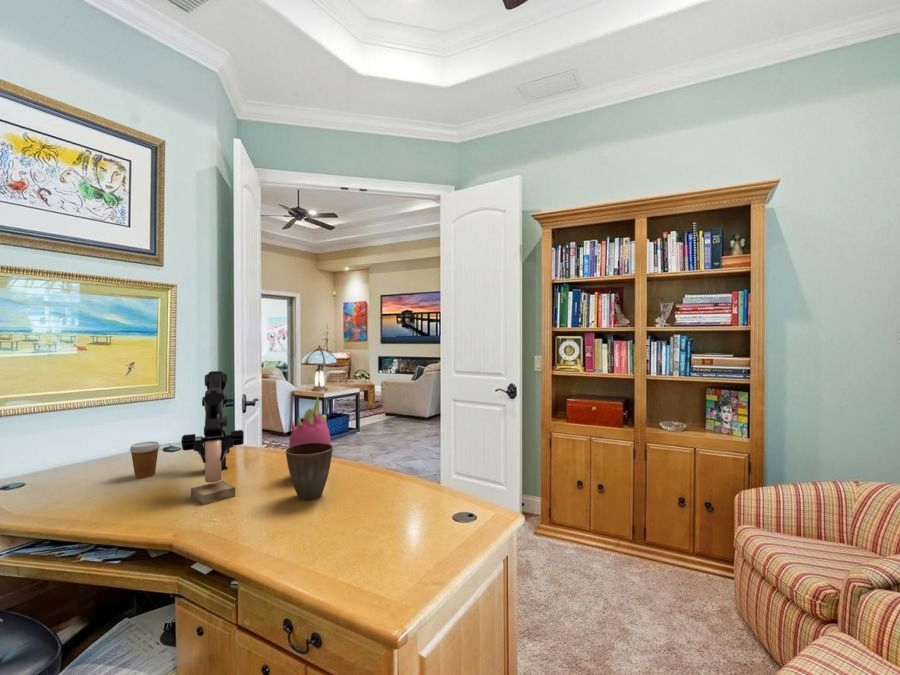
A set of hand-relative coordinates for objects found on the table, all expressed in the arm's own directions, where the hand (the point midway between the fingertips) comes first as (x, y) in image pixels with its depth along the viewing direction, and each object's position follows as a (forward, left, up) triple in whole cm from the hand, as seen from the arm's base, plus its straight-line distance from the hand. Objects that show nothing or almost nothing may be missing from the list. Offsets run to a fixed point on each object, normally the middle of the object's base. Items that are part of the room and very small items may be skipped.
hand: (213, 461), depth 149 cm
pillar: (-1, -1, -7) cm, 7 cm away
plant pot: (-21, +25, -12) cm, 34 cm away
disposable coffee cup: (+8, -42, -11) cm, 44 cm away
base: (0, +1, -11) cm, 11 cm away
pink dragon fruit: (-33, +6, -11) cm, 35 cm away
